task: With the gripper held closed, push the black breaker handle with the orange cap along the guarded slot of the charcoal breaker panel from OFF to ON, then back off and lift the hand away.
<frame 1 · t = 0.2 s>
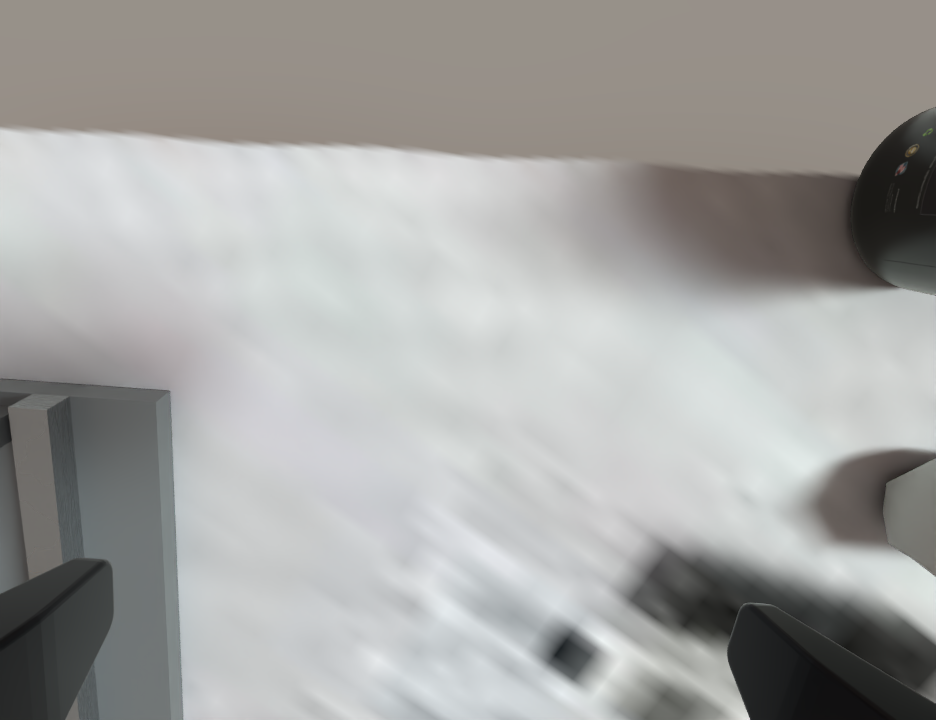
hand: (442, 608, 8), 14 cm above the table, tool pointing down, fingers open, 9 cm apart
supplement bottle: (923, 198, 22), on the table
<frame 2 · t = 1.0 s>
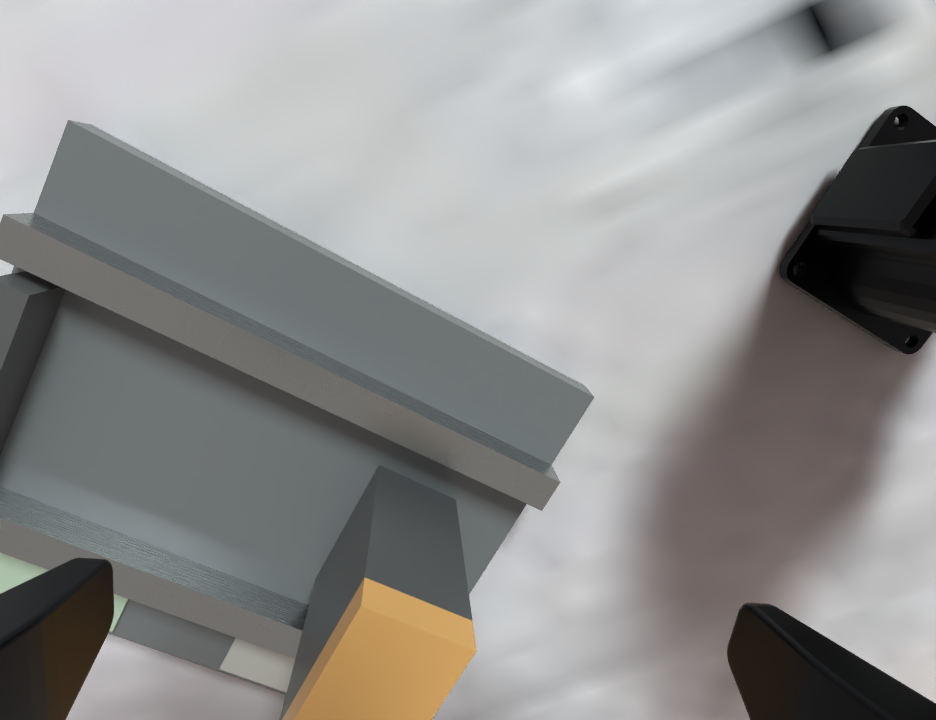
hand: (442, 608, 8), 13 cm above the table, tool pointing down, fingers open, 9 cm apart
breaker handle: (379, 606, 17), point 5 cm above the table, slide at 0.0 cm
breaker panel: (263, 462, 21), on the table
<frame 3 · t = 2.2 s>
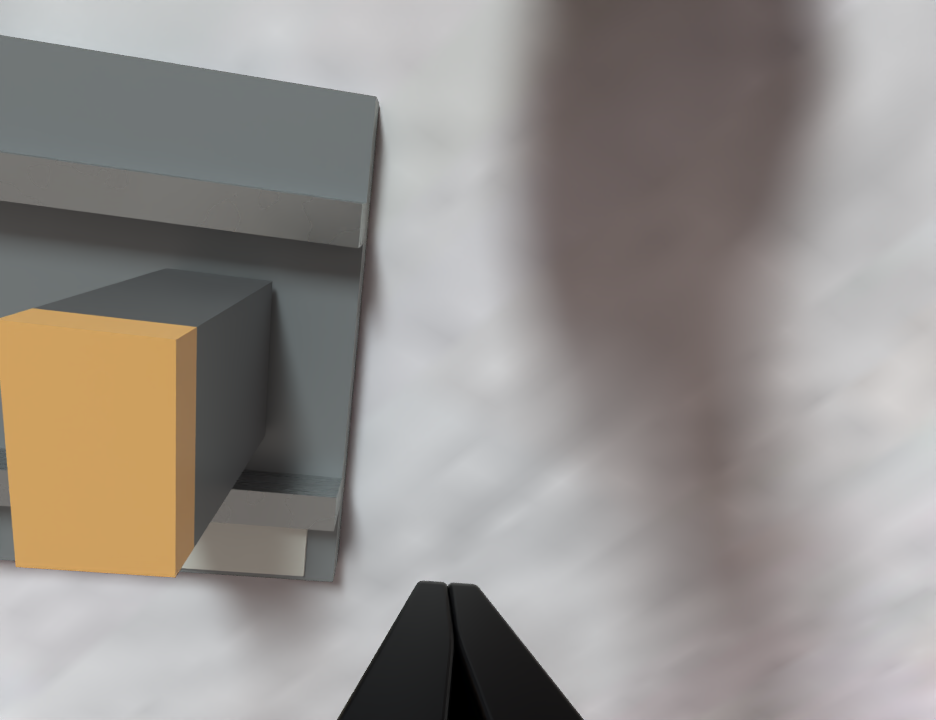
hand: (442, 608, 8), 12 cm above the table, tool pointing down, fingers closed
breaker handle: (170, 395, 14), point 5 cm above the table, slide at 0.0 cm
breaker panel: (71, 325, 18), on the table
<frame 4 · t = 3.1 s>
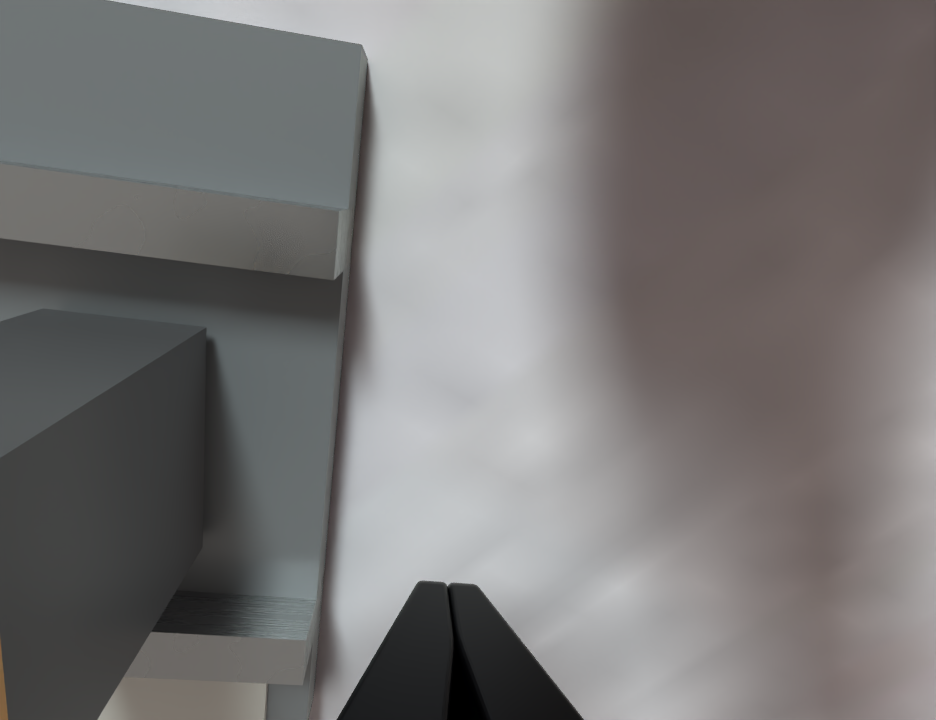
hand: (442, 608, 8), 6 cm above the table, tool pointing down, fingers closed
breaker handle: (12, 534, 8), point 5 cm above the table, slide at 0.0 cm
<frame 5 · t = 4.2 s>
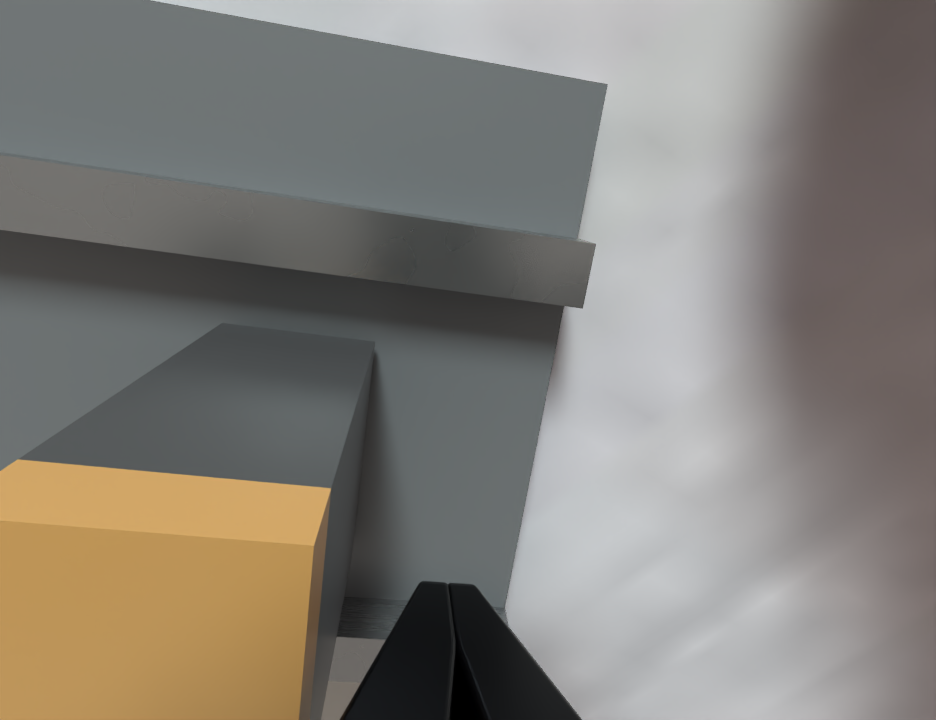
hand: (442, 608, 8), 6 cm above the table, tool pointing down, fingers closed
breaker handle: (242, 543, 9), point 5 cm above the table, slide at 1.3 cm, touching gripper
breaker panel: (141, 401, 13), on the table
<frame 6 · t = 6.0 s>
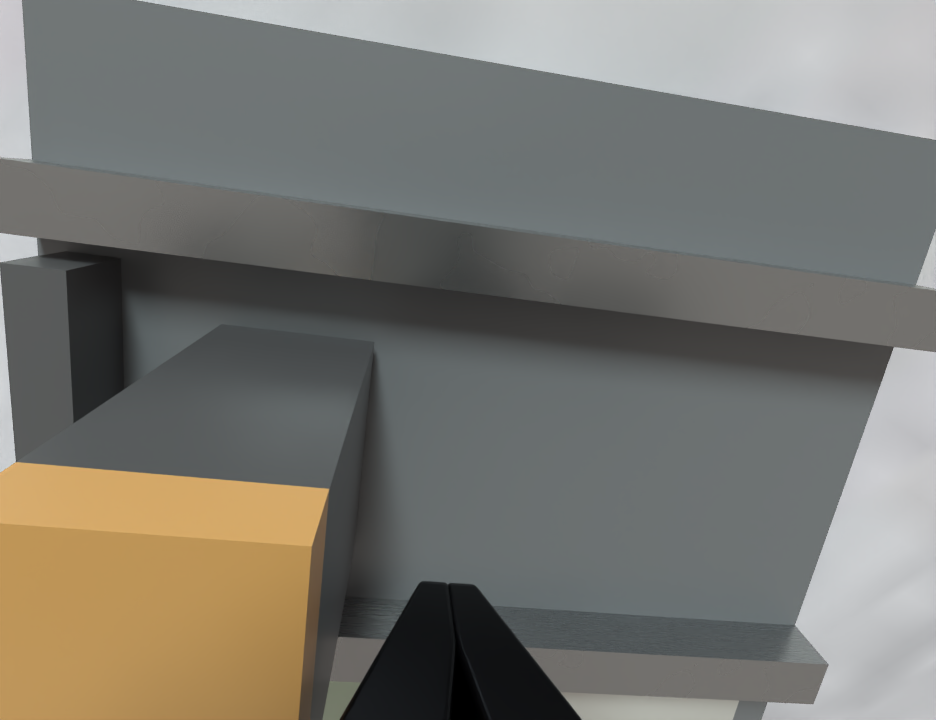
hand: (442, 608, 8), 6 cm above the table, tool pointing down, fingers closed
breaker handle: (243, 544, 9), point 5 cm above the table, slide at 9.0 cm, touching gripper
breaker panel: (472, 436, 14), on the table
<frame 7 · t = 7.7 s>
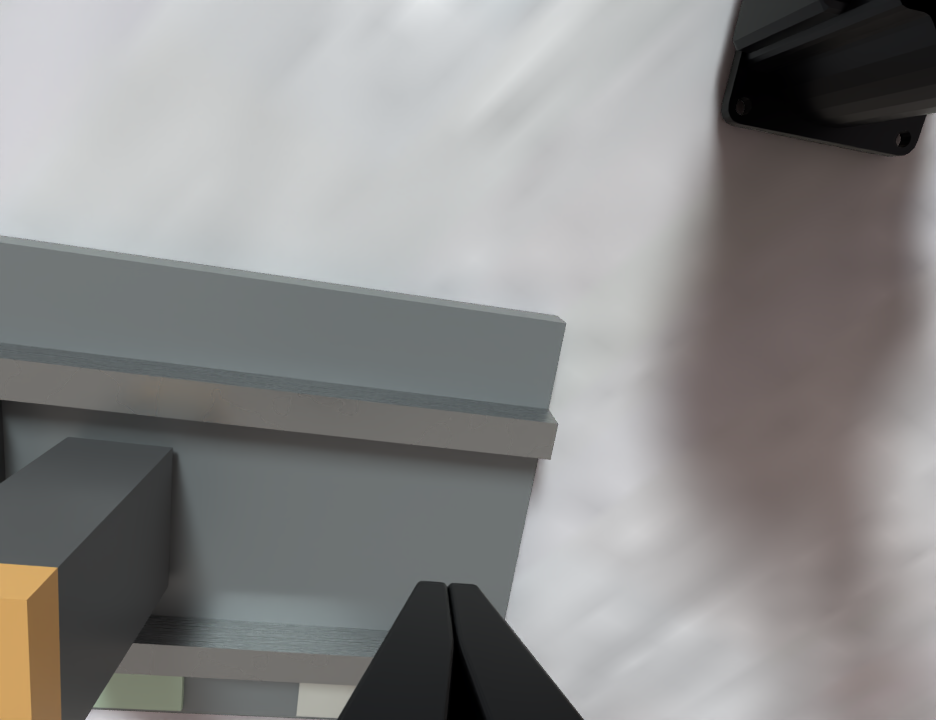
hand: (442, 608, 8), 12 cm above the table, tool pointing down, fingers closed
breaker handle: (54, 587, 15), point 5 cm above the table, slide at 9.0 cm
breaker panel: (263, 503, 20), on the table
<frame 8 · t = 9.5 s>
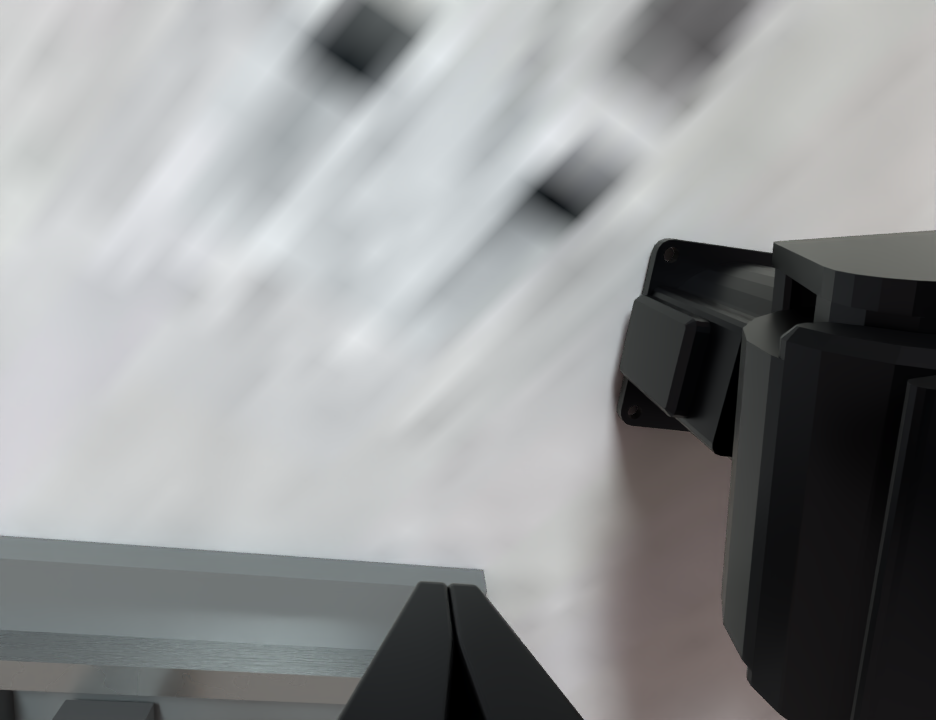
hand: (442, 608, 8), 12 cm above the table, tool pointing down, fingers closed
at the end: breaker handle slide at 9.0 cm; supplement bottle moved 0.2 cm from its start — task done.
